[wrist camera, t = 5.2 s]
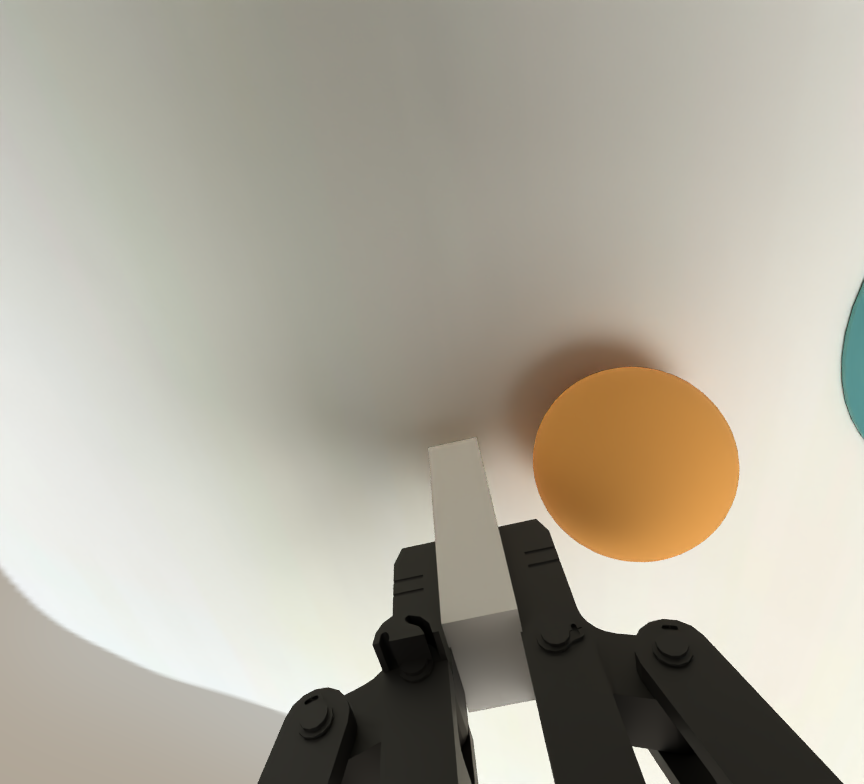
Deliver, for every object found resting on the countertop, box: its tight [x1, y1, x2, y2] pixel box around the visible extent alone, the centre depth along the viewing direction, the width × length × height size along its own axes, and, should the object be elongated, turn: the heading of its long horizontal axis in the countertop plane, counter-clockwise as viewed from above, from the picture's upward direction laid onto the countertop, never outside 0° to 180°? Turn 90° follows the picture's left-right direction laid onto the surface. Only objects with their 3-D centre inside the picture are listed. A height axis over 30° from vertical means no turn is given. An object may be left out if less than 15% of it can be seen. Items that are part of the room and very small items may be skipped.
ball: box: [533, 367, 739, 562], centre depth 16 cm, size 6×6×6 cm
